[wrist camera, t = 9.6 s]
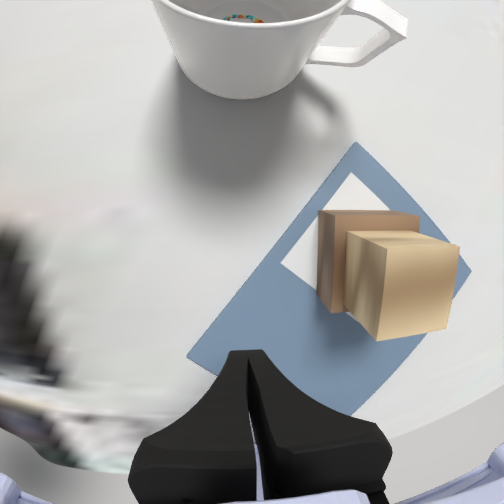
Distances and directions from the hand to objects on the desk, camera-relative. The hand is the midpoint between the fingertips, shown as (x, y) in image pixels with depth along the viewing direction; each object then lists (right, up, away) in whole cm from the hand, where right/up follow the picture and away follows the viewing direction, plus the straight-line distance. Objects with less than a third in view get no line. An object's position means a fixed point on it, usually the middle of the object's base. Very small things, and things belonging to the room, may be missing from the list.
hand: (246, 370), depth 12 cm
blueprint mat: (+8, 0, +11) cm, 14 cm away
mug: (+1, +19, +7) cm, 20 cm away
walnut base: (+8, +5, +10) cm, 13 cm away
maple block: (+8, +4, +6) cm, 11 cm away
